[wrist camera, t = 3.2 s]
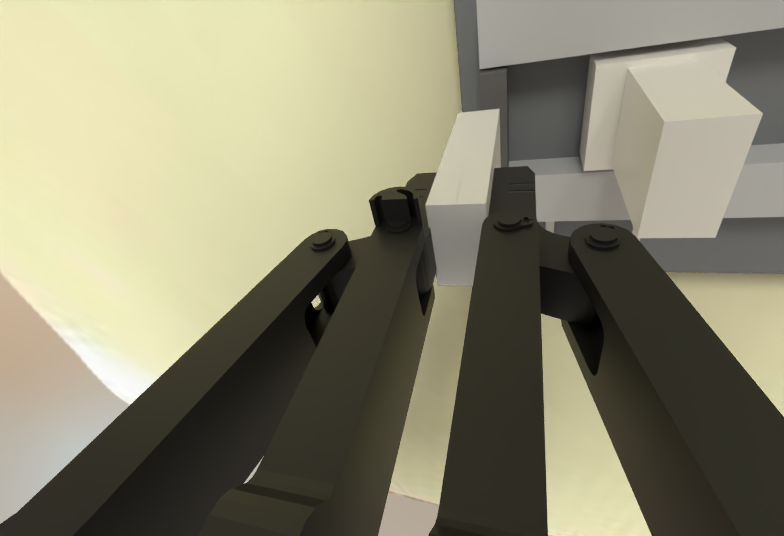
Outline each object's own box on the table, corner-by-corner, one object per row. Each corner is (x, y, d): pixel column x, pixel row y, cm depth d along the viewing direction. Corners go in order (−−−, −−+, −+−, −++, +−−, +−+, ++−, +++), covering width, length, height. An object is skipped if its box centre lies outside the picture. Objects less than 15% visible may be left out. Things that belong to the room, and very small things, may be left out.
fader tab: (590, 53, 15) (620, 117, 10) (716, 35, 14) (821, 100, 9) (579, 152, 18) (599, 243, 13) (686, 144, 16) (755, 242, 11)
